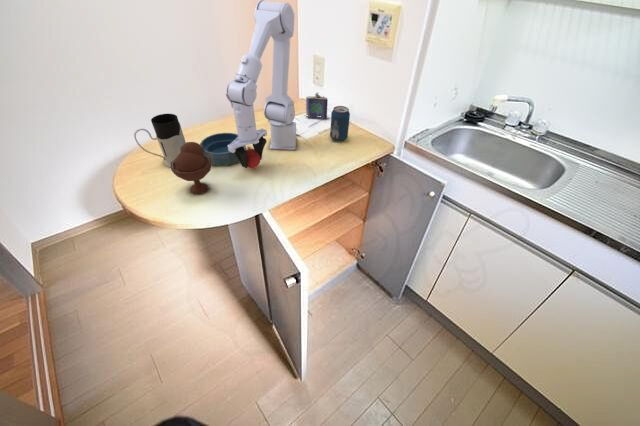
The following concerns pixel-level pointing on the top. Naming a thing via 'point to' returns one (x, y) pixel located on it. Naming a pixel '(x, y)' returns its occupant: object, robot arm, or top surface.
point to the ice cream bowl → (192, 166)
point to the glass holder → (166, 136)
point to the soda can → (339, 123)
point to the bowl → (220, 148)
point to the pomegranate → (252, 158)
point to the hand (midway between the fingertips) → (251, 162)
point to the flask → (316, 107)
